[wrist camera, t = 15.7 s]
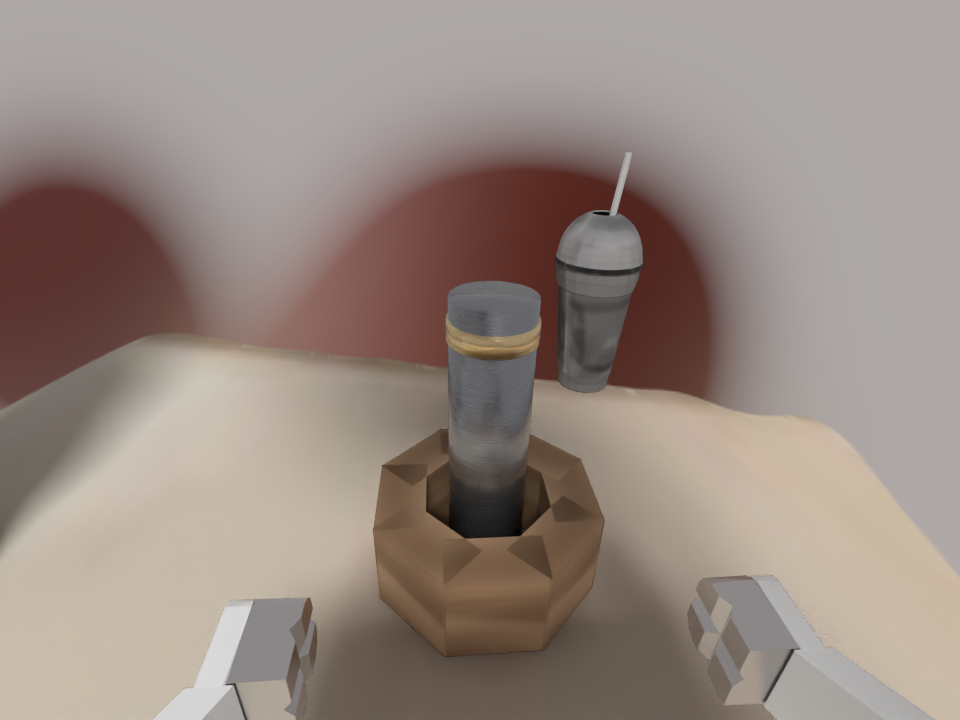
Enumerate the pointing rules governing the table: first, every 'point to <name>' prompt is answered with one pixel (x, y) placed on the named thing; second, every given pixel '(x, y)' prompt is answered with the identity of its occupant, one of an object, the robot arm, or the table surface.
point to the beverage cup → (595, 291)
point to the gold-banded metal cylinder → (490, 404)
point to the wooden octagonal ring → (485, 553)
